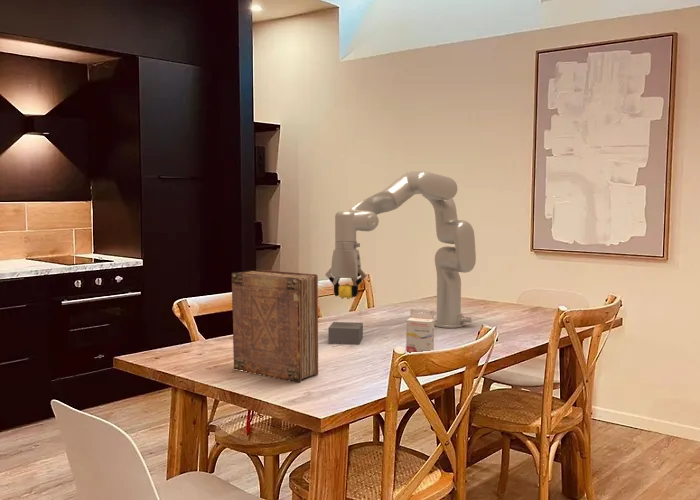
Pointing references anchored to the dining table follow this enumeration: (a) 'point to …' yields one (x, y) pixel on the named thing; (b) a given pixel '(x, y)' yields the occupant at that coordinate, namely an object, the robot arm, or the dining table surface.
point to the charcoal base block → (345, 333)
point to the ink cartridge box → (420, 331)
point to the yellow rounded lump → (345, 291)
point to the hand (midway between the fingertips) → (345, 295)
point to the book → (275, 323)
